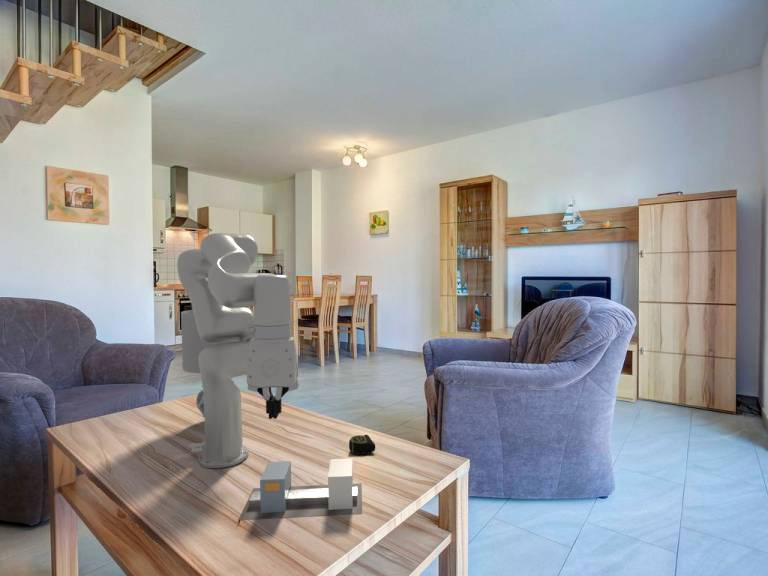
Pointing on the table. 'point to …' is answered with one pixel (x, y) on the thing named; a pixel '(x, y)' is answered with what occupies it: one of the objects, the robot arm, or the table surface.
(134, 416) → the table surface
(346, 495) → the mounted module
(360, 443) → the tape measure
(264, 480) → the block
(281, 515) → the mounting board
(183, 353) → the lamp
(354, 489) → the rail
